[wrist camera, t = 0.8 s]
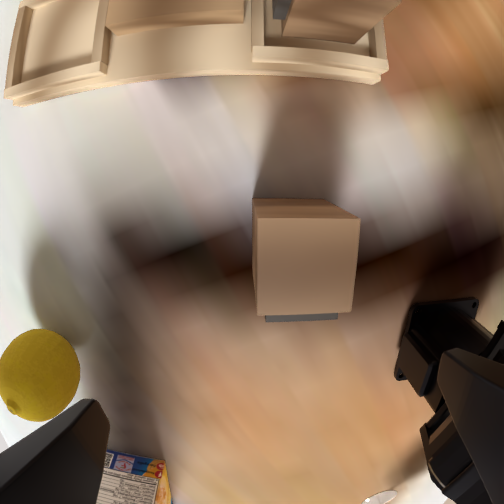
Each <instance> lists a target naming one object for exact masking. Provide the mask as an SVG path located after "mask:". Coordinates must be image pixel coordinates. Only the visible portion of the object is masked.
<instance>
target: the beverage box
mask: <svg viewBox="0 0 504 504" xmlns="http://www.w3.org/2000/svg"><path fill="white" fill-rule="evenodd" d="M96 504H173V503H172V498H171V493H170V487H169V482H168V476H167V471H166V465H165V461H164V460H158V459H152V458H146V457H141V456H136V455H131V454H127V453H122V452H118V451H113V450H109V449H107V451H106V457H105V465H104V471H103V476H102V481H101V485H100V489H99V493H98V497H97V502H96Z"/></svg>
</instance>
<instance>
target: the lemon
mask: <svg viewBox="0 0 504 504" xmlns="http://www.w3.org/2000/svg"><path fill="white" fill-rule="evenodd" d="M79 381H80V364H79V361H78V357H77V355H76V353H75V351H74V349H73V347H72V346H71V345H70V343H69V342H68V341H67V340H66V339H65V338H64V337H62V336H61V335H59V334H58V333H56V332H53V331H50V330H46V329H33V330H29V331H27V332H25V333H23V334H21V335H19V336H18V337H16V338H15V339H14V340H13V341H12V342H11V343H10V345H9V346H8V347H7V348H6V350H5V351H4V353H3V355H2V357H1V359H0V395H1V397H2V399H3V401H4V403H5V404H6V405H7V408H8V410H9V411H10V412H11V413H12V414H14V415H18V416H19V417H21V418H23V419H26V420H29V421H36V422H41V421H46V420H49V419H52V418H54V417H55V416H57V415H58V414H59V413H61V412H62V411H63V410H64V409H65V408H66V407H67V406H68V404H69V403H70V402H71V401H72V399H73V397H74V396H75V393H76V391H77V387H78V384H79Z"/></svg>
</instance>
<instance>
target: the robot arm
mask: <svg viewBox="0 0 504 504" xmlns="http://www.w3.org/2000/svg"><path fill="white" fill-rule="evenodd" d="M472 304H473V305H472ZM478 305H479V301H478V300H477V299H476V298H475V297H470V298H461V299H452V300H443V301H433V302H422V303H415V304H414V305H412V307H411V308H410V312H409V317H408V321H407V326H406V330H405V333H404V335H403V339H402V343H401V347H400V351H399V354H398V358H397V365H396V369H395V372H394V377H395V378H396V380H398V381H401V380H407V379H408V381H409V382H410V384H411V385H412V387H413V388H414V390H415V391H416V393H417V394H418V395H419V396H420V397H422V396H424V397H425V399H426V400H427V402H428V403H429V405H430V406H431V408H432V409H433V411H434V412H435V414H434V416H433V417H432V418H431V419H430V420H429V421H428V422H427V423H425V424H424V425H423V426H422V427H421V428H420V433H421V438H422V442H423V446H424V451H425V456H426V460H427V465H428V470H429V473H430V477H431V480H432V481H433V482H434V483H435V484H436V486H437V487H438V488H439V489H440V490H441V491H442V493H443V494H444V495H445V496H447V497H448V498H450V499H451V500H453V501H454V502H455V503H456V504H504V321H503V320H501V322H500V323H499V325H498V327H497V328H498V329H497V331H496V332H495V334H494V335H493V334H492V333H491V332H489V331H488V330H487V329H486V328H485V327H483V326H482V325H481V324H480V323H479V322H477V321H476V320H475V316H476V312H477V308H478ZM417 309H419V310H418V311H417V312H416V310H417ZM415 312H416V313H415ZM401 373H402V374H401ZM400 374H401V375H400ZM109 431H110V424H109V420H108V418H107V417H106V415H105V413H104V411H103V410H102V408H101V406H100V404H99V402H98V401H97V400H94V399H82V400H80V401H79V402H77V403H76V404H74V405H73V406H71V407H70V408H68V409H67V410H65V411H64V412H62V413H61V414H59V415H58V416H56V417H55V418H53V419H52V420H50V421H49V422H47V423H46V424H44V425H43V426H41V427H40V428H38V429H37V430H35V431H34V432H32V433H31V434H29V435H28V436H26V437H25V438H23V439H22V440H20V441H19V442H17V443H16V444H14V445H13V446H11V447H9V448H8V449H6V450H5V451H3V452H2V453H0V504H96V502H97V497H98V493H99V489H100V485H101V481H102V476H103V471H104V465H105V457H106V451H107V444H108V438H109Z"/></svg>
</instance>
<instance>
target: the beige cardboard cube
mask: <svg viewBox="0 0 504 504" xmlns="http://www.w3.org/2000/svg"><path fill="white" fill-rule="evenodd" d="M359 232H360V218H358V217H356V216H354V215H352V214H351V213H349V212H347V211H345V210H343V209H341V208H339V207H338V206H336V205H334V204H332V203H330V202H328V201H326V200H324V199H295V198H252V268H253V278H254V288H255V299H256V309H257V316H264V315H265V320H266V322H291V321H315V320H334V319H338V313H341V312H351V307H352V300H353V292H354V283H355V275H356V265H357V255H358V244H359Z"/></svg>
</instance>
